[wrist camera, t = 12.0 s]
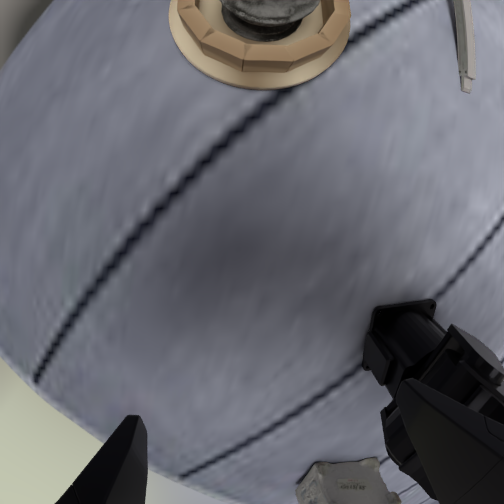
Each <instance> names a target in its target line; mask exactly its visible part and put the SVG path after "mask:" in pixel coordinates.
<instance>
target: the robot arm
mask: <svg viewBox="0 0 504 504" xmlns="http://www.w3.org/2000/svg"><path fill="white" fill-rule="evenodd" d="M431 304H432V305H431ZM435 309H436V302H435V301H434V300H432V299H431V300H424V301H417V302H410V303H402V304H394V305H387V306H379V307H376V308H375V309H374V311H373V314H372V320H371V325H370V330H369V332H368V334H367V338H366V343H365V348H364V352H363V363H362V367H363V369H364V370H365V371H369V370H371V371H372V373H373V374H374V376H375V378H376V380H377V381H378V383H379V384H380V385H381V386H384V385H385V386H386V388H387V390H388V391H389V393H390V395H391V396H392V398H393V400H392V402H391V403H390V404H389V405H388V406H387V407H384V409H383V410H382V411H381V412H380V414H381V420H382V426H383V432H384V439H385V446H386V450H387V453H388V455H389V456H390V458H391V459H392V460H393V461H394V462H395V463H396V464H397V465H398V466H399V470H400V471H402V472H404V473H405V474H407V475H409V476H410V477H411V478H413V479H414V480H415V481H416V482H417V483H418V484H419V485H420V486H421V487H422V488H423V489H424V490H425V492H426V493H427V494H428V495H429V496H430V497H431V498H432V499H434V500H437V501H439V504H504V381H503V380H504V368H503V366H502V365H501V363H500V361H499V360H498V358H497V357H496V355H495V354H494V353H493V352H492V351H491V350H490V349H489V348H488V347H486V346H485V345H484V344H483V343H482V342H481V341H480V340H478V339H477V338H475V337H474V336H472V335H470V334H469V333H467V332H465V331H463V330H462V329H460V328H458V327H457V326H455V325H453V324H451V325H450V327H449V328H448V329H447V330H448V331H447V332H446V331H445V330H444V329H443V328H442V327H441V326H440V325H439V324H438V323H437V322H436V321H435V320H434V319H433V316H434V312H435ZM380 311H381V312H380ZM379 312H380V314H378V313H379ZM377 314H378V315H377ZM367 365H368V366H367ZM147 474H148V462H147V430H146V428H145V425H144V423H143V421H142V419H141V417H140V416H139V415H127V416H126V417H125V419H124V420H123V421H122V422H121V424H120V425H119V426H118V427H117V429H116V430H115V431H114V432H113V434H112V435H111V436H110V437H109V438H108V440H107V441H106V442H105V443H104V445H103V446H102V447H101V449H100V450H99V451H98V452H97V454H96V455H95V456H94V457H93V458H92V460H91V461H90V462H89V463H88V465H87V466H86V467H85V468H84V470H83V471H82V472H81V473H80V475H79V476H78V477H77V478H76V479H75V481H74V482H73V483H72V484H73V485H70V487H69V488H68V489H67V491H66V492H65V493H64V494H63V495H62V496H61V497H60V499H59V500H58V501H57V502H56V503H55V504H145V496H146V486H147Z"/></svg>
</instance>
